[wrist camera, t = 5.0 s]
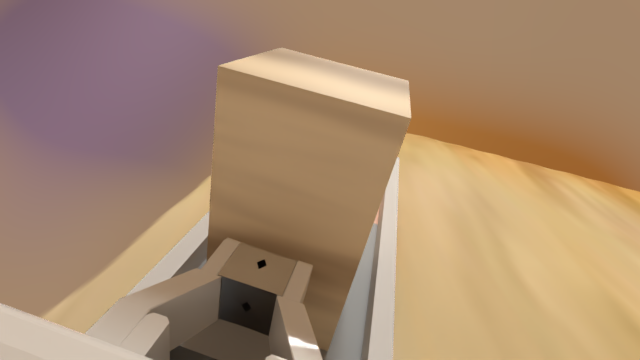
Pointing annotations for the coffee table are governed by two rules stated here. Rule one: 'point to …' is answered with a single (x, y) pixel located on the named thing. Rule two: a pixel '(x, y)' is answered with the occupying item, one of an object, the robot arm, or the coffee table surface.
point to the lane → (357, 315)
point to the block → (304, 165)
